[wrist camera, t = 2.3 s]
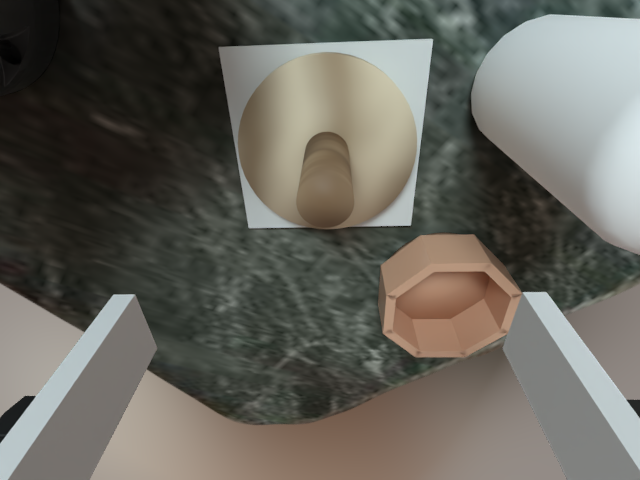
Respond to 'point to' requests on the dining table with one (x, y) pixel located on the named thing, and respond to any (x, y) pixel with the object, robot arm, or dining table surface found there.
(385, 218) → the mat
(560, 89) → the white bottle
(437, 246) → the bowl
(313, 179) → the lid
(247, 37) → the dining table surface
